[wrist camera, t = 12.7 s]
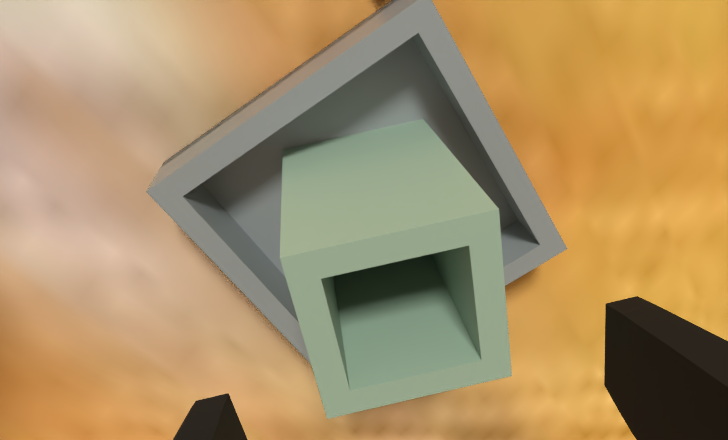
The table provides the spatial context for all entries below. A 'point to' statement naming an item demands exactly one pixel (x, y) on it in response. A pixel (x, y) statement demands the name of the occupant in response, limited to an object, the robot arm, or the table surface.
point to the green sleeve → (392, 268)
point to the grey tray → (336, 119)
